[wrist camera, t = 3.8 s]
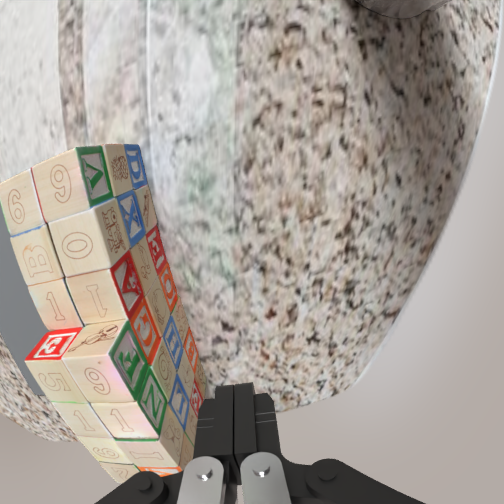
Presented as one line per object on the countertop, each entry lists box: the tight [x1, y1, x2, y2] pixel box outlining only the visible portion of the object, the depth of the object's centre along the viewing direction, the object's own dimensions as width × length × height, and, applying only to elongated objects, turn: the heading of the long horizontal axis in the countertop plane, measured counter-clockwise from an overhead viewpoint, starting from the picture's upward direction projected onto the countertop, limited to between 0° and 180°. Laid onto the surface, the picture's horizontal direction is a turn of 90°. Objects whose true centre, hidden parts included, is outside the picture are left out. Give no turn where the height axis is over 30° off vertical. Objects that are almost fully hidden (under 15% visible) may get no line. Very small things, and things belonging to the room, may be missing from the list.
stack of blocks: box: [0, 144, 206, 483], centre depth 19 cm, size 21×6×12 cm, turn 11°
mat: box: [0, 204, 49, 396], centre depth 24 cm, size 16×24×1 cm, turn 9°
